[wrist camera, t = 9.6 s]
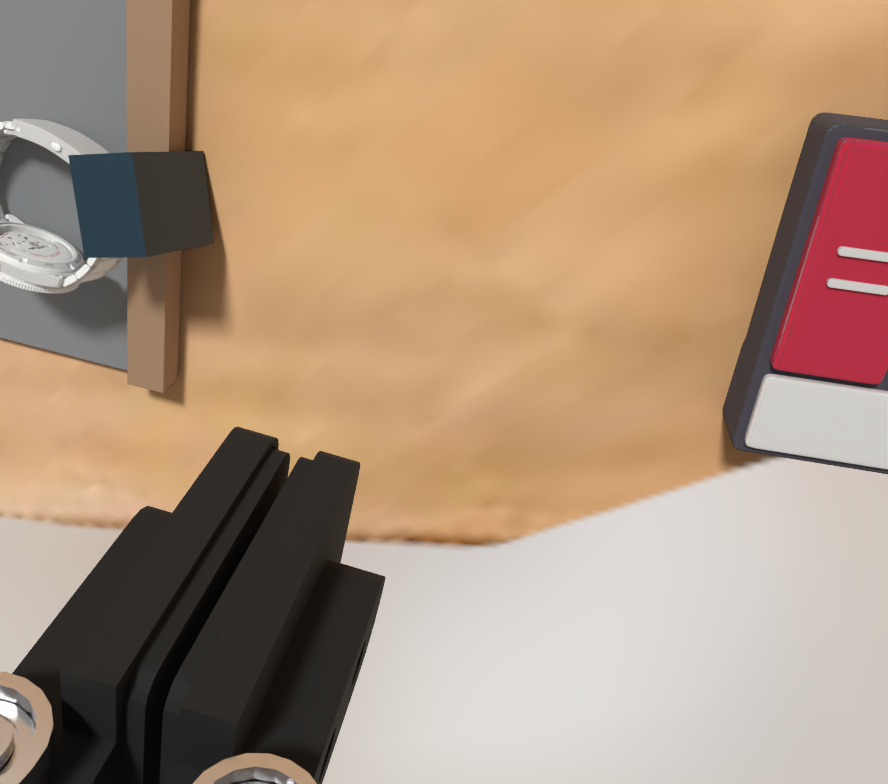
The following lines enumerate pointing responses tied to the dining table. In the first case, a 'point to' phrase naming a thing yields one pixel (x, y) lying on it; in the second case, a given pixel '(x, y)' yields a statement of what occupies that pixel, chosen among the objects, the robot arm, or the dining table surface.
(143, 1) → the mat
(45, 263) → the watch
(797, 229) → the calculator
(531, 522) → the dining table surface
